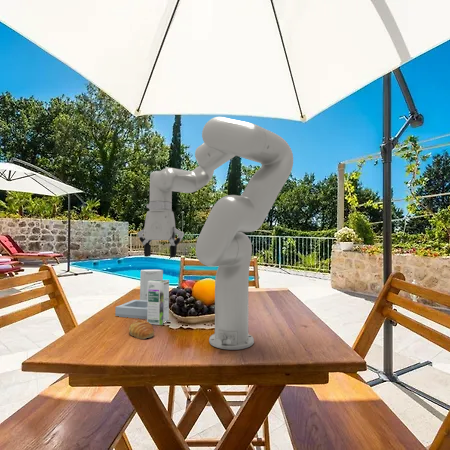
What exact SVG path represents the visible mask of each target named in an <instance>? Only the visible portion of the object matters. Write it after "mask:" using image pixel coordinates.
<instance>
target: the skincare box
mask: <svg viewBox="0 0 450 450" xmlns="http://www.w3.org/2000/svg"><path fill="white" fill-rule="evenodd" d="M163 274H164V270H163V269H141V270H140V281H139V282H140V283H139V284H140V285H139V300H147V296H148V295H147V290H148V281H150V280H164V278H163V277H164V275H163Z"/></svg>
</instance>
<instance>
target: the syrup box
mask: <svg viewBox="0 0 450 450" xmlns="http://www.w3.org/2000/svg"><path fill="white" fill-rule="evenodd" d="M147 295H148V296H147V319H146V322H149V323H150V324H151V325H157V326H164V324H163V323H164V322H165V321H167V320H168V319H169V320H170V318H169V317H170V316H169V315H170V313H169V312H170V311H169V310H170V307H169V306H170V279H163V280H150V281H148V290H147ZM167 322H168V321H167Z"/></svg>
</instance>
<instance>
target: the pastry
mask: <svg viewBox="0 0 450 450" xmlns="http://www.w3.org/2000/svg"><path fill="white" fill-rule="evenodd" d="M128 330H129V331H128V332H129V334H130V336H131V337H133V336H134V337H133V338H136V339H138V338H139V340H147V338H148V339H149V338H153V336H154V334H155V329H154V327H153V324H150V323H149V322H147V321H145V320H144V319H138V320H136V321H134V322H133V321H132V323H131V324H130V325H129V328H128Z"/></svg>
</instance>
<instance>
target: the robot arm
mask: <svg viewBox="0 0 450 450" xmlns="http://www.w3.org/2000/svg"><path fill="white" fill-rule="evenodd" d="M201 137H202V141H203V142H202V144H200V145H198V147H196V149H195V152H194V157H195V160H196V162H197V164H198V166H196V167H195V168H194V169H192V170H190V171H189V170H184V169H181V168H175V167H165V168H163V169H161V170H155V171H152V172H151V173H150V175H149V201H148V203H147V204H146V209H149V210H148V211H146V215H145V220H144V228H142V229H141V230H140V231H138V232H137V236H138V238H139V241H140V242H141V243H142V245H143V255H144V257H151V256H152V254H151V253H152V251H151V250H152V249H151V248H152V245H151V242H152V241H168V242H169V244H170V246H169V257H170V259H173V258H176V256H177V254H178V253H177V251H178V250H177V249H178V247H177V246H178V245H179V244H180V243H181V242H182V240H183V237H184V236H185V232H183V231H181V230H180V229H177V228H176V219H175V214H174V211H173V209H172V207H173V206H172V205H173V204H172V202H173V201H172V199H173V196H172V195H173V192H178V193H185V194H190V193H195V192H197V191H199V190H200V189H202V188H203V187H205V186H207V184H209V182H210V181H212V178H213V176H214V173H215V170H216V169H218V168H219V167H221V166H223V165H224V164H225V163H227V162H229V161H230V160H232V159H233V158H234V157H239V158H242V159H245V160H248V161H252V162H255V163H258V164H261V167H259V169H258V170H257V171H255V173H254V174H253V175H252V176H251V178H250V179H249V181H248V182H247V185H246V187H245V188H244V190H243V192H242V193H241V195H237V194H228V195H225V196H223V197H221V198H219V199H218V200H217V201H216V203H215V204H214V205H212V208H211V210H210V212H209V214H208V216H207V218H206V220H205V223H204V225H203V227H202V229H201V231H200V233H199V235H198V238H197V240H196V243H195V256H196V258H197V260H198V261H199V263H200V264H202V265H204V266H206V267H218V268H217V270H216V274H215V280H214V333H213V334H211V335H210V336H209V339H208V342H209V344H210V345H211V346H212V347H215V348H217V349H222V350H230V351H235V350H244V349H248V348H250V347H252V346H253V345H254V343H255V341H254V336H253V335H251V334H250V333H249V285H250V284H249V281H250V280H249V275H250V266H251V265H250V264H251V259H252V253H253V246H252V245H253V244H252V241H251V239H250V238H249V236H248V235H247V234H245V233H250V232H251V233H252V232H255V231H258V229H260V228H261V227H262V225H263V223H264V222H265V220H266V218H267V216H268V214H269V212H270V210H271V209H272V207H273V205H274V204H275V202H276V199H277V197H278V196H279V194H280V192H281V191H282V189H283V187H284V185H285V184H286V182H287V180H288V179H289V177H290V174H291V173H292V171H293V166H294V154H293V150H292V148H291V147H290V145H289V144H288V142H287V141H286V140H285V139H284V138H283V137H281V136H280V135H279V134H277V133H275V132H274V131H271V130H269V129H266V128H265V127H262V126H260V125H258V124H255V123H252V122H249V121H243V120H240V119H239V120H238V119H233V118H229V117H225V116H215V117H212V118H210V119H209V120H208V121H207V122H206V123H205V124H204V125H203V128H202V131H201ZM176 235H178V236H177V237H176Z"/></svg>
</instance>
